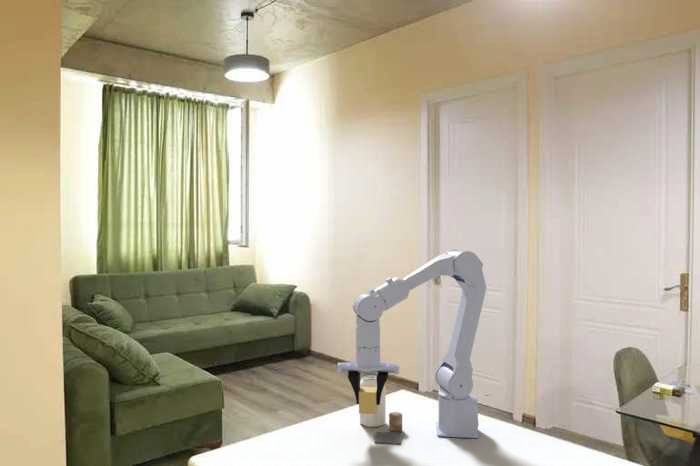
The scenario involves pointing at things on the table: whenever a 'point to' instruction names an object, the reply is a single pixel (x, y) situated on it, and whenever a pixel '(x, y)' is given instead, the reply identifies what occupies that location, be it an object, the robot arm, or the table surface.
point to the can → (379, 417)
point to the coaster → (388, 438)
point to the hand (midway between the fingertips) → (368, 403)
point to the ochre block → (368, 400)
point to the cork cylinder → (395, 422)
